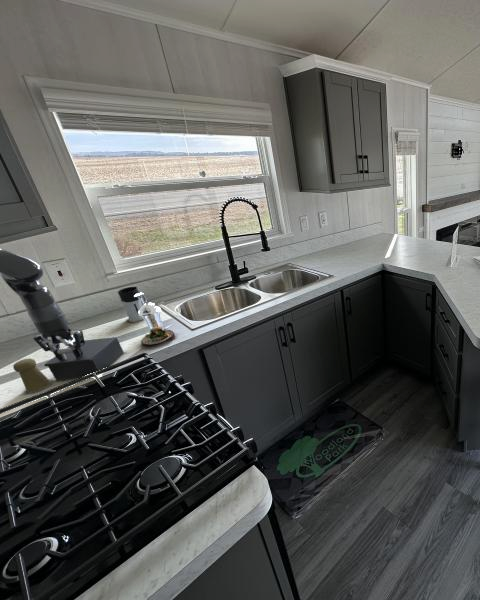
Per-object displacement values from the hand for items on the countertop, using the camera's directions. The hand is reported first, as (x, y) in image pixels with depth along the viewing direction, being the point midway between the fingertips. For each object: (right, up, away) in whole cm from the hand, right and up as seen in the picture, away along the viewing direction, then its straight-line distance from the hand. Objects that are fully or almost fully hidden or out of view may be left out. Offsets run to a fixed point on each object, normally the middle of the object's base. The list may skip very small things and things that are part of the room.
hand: (71, 357), depth 118 cm
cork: (-10, -10, -2) cm, 14 cm away
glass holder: (-9, +12, +44) cm, 47 cm away
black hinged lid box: (-1, -5, +9) cm, 10 cm away
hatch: (-1, +1, +5) cm, 6 cm away
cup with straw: (+7, +7, +32) cm, 33 cm away
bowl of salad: (+14, +3, +24) cm, 28 cm away
